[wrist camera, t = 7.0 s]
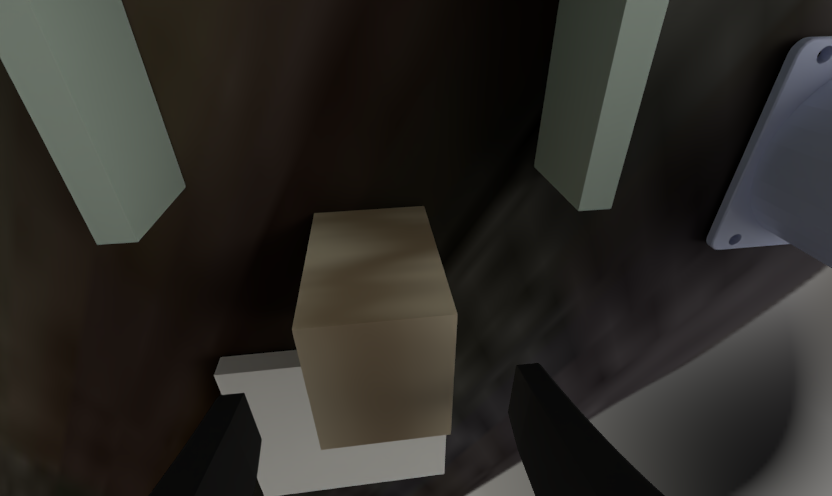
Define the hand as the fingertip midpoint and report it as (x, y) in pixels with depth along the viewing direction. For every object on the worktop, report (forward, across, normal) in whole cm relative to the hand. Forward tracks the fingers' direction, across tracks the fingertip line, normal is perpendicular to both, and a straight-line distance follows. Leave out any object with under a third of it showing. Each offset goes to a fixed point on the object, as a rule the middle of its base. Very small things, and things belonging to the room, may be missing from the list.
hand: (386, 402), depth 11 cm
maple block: (+6, 0, 0) cm, 6 cm away
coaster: (+6, +2, +9) cm, 11 cm away
